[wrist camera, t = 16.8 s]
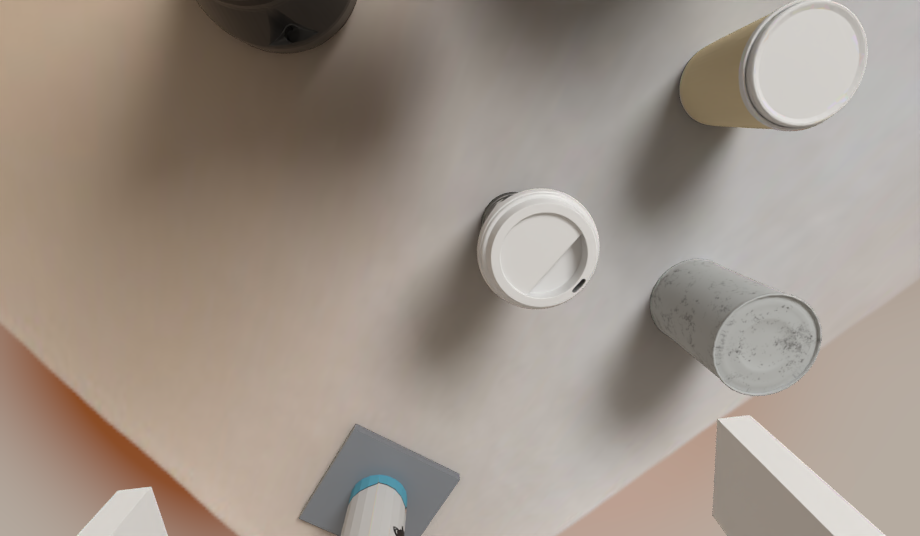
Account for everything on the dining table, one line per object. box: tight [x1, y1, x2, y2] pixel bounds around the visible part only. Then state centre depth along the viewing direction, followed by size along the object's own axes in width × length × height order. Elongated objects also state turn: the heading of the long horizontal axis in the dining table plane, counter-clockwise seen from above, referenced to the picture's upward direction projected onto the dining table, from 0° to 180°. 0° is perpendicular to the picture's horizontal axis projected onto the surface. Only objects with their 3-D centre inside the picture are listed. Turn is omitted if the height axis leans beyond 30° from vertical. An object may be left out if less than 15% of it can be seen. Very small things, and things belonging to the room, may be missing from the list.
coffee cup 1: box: [477, 188, 600, 309], centre depth 41 cm, size 10×10×15 cm
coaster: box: [299, 424, 460, 536], centre depth 56 cm, size 14×14×1 cm
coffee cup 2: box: [679, 0, 868, 131], centre depth 40 cm, size 9×9×12 cm
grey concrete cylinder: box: [650, 259, 822, 396], centre depth 46 cm, size 10×10×12 cm
